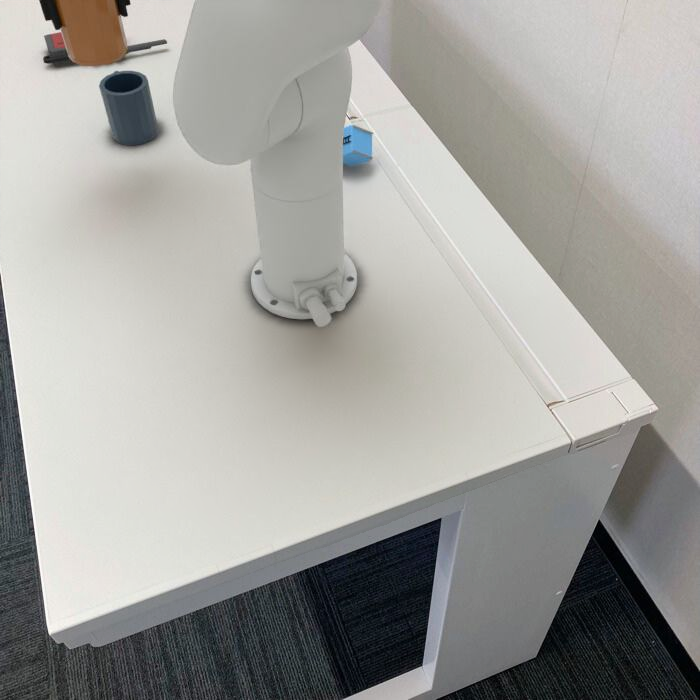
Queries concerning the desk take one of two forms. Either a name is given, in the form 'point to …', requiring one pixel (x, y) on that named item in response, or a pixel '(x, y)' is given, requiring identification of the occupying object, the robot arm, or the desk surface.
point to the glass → (92, 31)
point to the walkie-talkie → (60, 55)
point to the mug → (129, 107)
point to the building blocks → (356, 145)
